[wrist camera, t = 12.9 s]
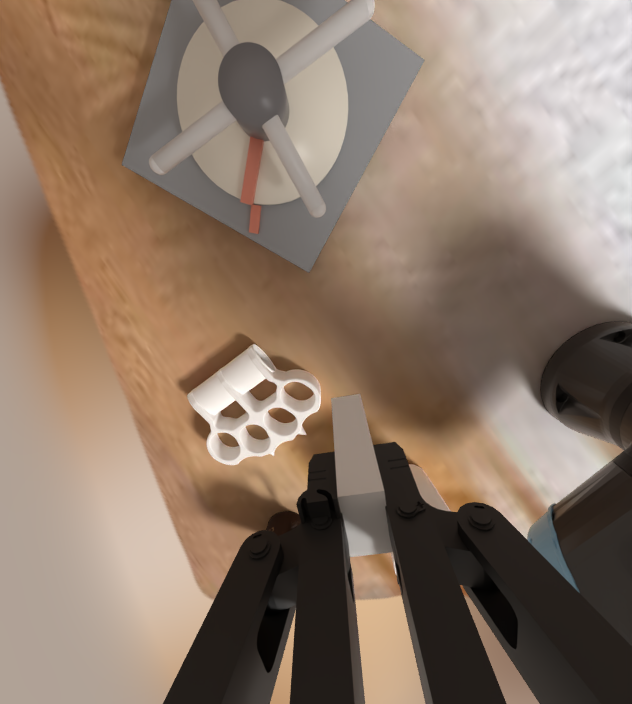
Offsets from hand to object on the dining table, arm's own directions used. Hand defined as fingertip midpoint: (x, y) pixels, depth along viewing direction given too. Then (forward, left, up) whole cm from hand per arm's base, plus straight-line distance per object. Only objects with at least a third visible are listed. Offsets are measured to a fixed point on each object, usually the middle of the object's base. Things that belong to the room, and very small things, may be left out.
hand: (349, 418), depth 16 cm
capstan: (+16, -14, -22) cm, 31 cm away
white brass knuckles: (+2, +16, -25) cm, 30 cm away
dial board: (+16, -14, -24) cm, 32 cm away
